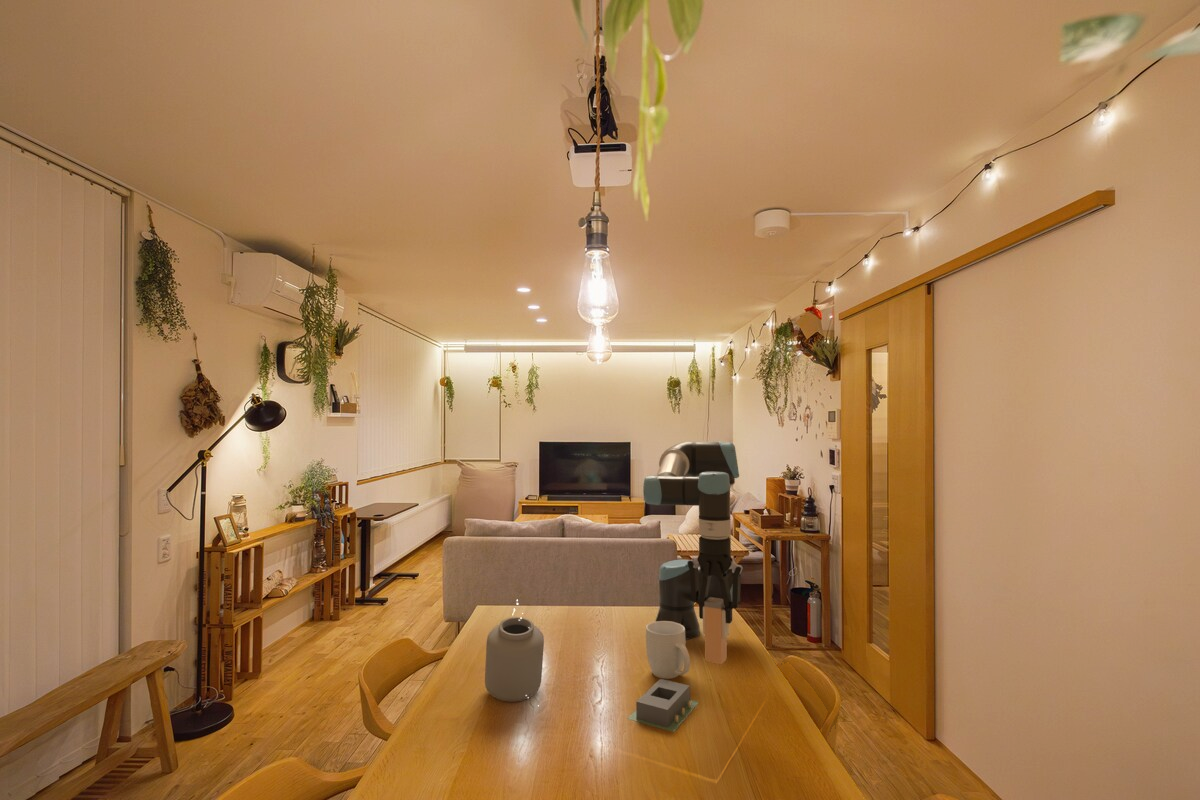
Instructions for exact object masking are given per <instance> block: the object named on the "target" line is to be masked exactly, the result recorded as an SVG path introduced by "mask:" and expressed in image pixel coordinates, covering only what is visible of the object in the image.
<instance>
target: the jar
mask: <svg viewBox="0 0 1200 800" xmlns="http://www.w3.org/2000/svg"><path fill="white" fill-rule="evenodd" d="M518 601H519V600H518V599H516V605H517V606H518V605H519V602H518ZM515 612H516V608H513V612H512V614H511V615H512V617H508V618H505V619H502V621H500V623H499V624H498V625H497V624H496V626H494V627H493V628H492V629H491V630H490V631H489V633H488V635H487V638H486V644H485V645H486V650H485V666H484V667H485V669H484V686H485V688H486V691H487V692H488V693H489V694H490V695H491V696H492V697H494V698H495V699H497V700H499V701H502V702H507V703H514V702H521V701H525V700H527V699H529V698H531V697H533V696H534V695H535V694H536V693H537V692H538V691H539V689H540V687H541V683H542V677H543V675H542V673H543V662H544V661H543V660H544V646H545V638H544V637H545V636H544V634H543V632H542V631H541V629H540V628H539V627H538V626H536V625H534V623H533V622H532V621H531V620H530V619H528V618H526V617H521V616H514V613H515ZM521 615H524V613H523V612H522V613H521ZM539 706H540V705H539V704H538V705H537V707H539Z"/></svg>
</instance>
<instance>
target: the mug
mask: <svg viewBox="0 0 1200 800" xmlns="http://www.w3.org/2000/svg"><path fill="white" fill-rule="evenodd" d="M686 643H687V642H686V639H685V627H684V626H683V625H681V624H679V623H675V622H670V621H657V622H655V621H653V622H650V623H647V625H646V626H645V646H646V647H645V649H646V657H647V661H648V664H649V668H650V670H651V672H652V674H653V675H654V676H655V677H656V678H660V679H664V680H669V679H675V678H677V677H678V676H682V675H686V674H687V673H688V672H689V670H690V667H691V658H690V654H689V650H688V649H687V647H686ZM683 666H684V667H683ZM682 669H683V670H682Z"/></svg>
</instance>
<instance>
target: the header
mask: <svg viewBox="0 0 1200 800" xmlns="http://www.w3.org/2000/svg"><path fill="white" fill-rule="evenodd" d="M690 690H691V687H690V685H688V684H684V683H680V682H677V681H672V680H669V679H664V678H660V679H659V680H658V681H656V682H655V683H654V684H653V685H652V686H651V687H650V688H649V689H648V690H647V691H645V693H643V694H642V696H640V697H639V698H638V700H636V701H635V703H636V704H635V705H636V707H635V710H634V711H633V712H632V713H631V714H630V715H629V716H628V717H627V718H626V719H627V720H630V721H634V722H637V723H641V724H644V725H647V726H651V727H655V728H658V729H662V730H665V731H668V732H673V733H675V732H676V730H677V729H678V728H679V727H680V726H681V724H682V723H683V722H684V721H685V720H686V718H688V717H689V715H690V713H691V712H692V711H693V710H694V709H695V708H696V707H697V705H698V704H699V701H696V700H692V699H691V691H690Z"/></svg>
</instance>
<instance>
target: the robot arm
mask: <svg viewBox="0 0 1200 800" xmlns="http://www.w3.org/2000/svg"><path fill="white" fill-rule="evenodd" d="M735 446H736V445H735V444H734V443H733V442H731V441H720V440H719V441H718V440H717V441H716V440H715V441H714V440H713V441H711V440H710V441H691V440H689V441H684V442H683V441H682V442H680V443H677V444H674V445H672V446H670V447H669V448H667V449H666V450H664V452H663V453H662V454H661V455H660V457H659V461H658V471H657V473H656V475H655V474H654V475H649V476H648V475H647V476H645V478H644V479H643V487H642V488H643V490H642V492H643V501H644V502H645V503H646V504H647V505H655V506H664V505H665V506H696V507H697V506H698V534H699V535H700V536H699V538H698V556H697V558H692V559H683V558H682V559H674V560H670V561H666V562H663V563H662V565H661V564H660V567H659V571H658V573H659V575H658V576H659V577H658V580H659V582H658V583H659V584H658V585H659V598H658V599H659V600H658V601H659V607H658V608H659V609H658V611H657V616H656V618H655V621H654V622H657V621H670V622H675V623H679V624H681V625H683V626H684V627H685V640H689V639H693V638H696V637H697V636H699V635H700V633H701V632H700V631H701V630H700V627H701V626H700V622H699V620H698V617H699V619H700V620H702V634H703V635H705V606H704V601H706V600H707V599H708V598H710V597H713V598H719V599H723V601H724V606H725V608H723V609H722V638H726V637H728V636H729V634H730V633H729V632H730V631H729V629H730V627H729V626H730V624H731V623H732V622H733V610H734V609H737V608H738V607H739V606H740V605H741V586H742V585H741V581H742V580H741V579H742V576H741V575H742V572H743V570H744V565H742V564H737V563H736V560H734V559H733V558H732V556H731V554H732V552H731V551H732V550H731V549H732V547H731V546H732V543H731V542H732V541H731V536H732V535H731V530H732V529H731V528H732V527H731V488H732V487H733V486H734V485H735V483H736V481H735V480H736V479H738V478H740V472H739V465H738V459H737V453H736V452H737V451H736V447H735ZM695 603H696V604H698V613H699V614H698V617H697V614H696V613H697V612H696V611H695Z"/></svg>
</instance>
